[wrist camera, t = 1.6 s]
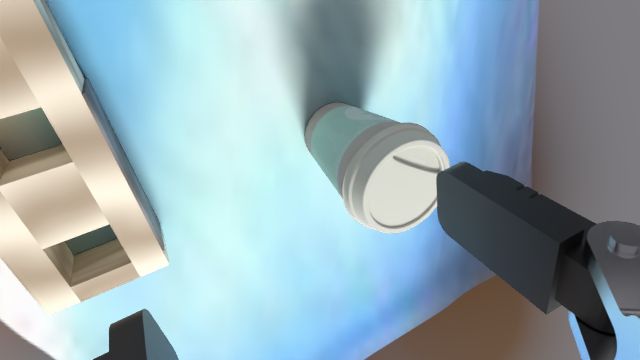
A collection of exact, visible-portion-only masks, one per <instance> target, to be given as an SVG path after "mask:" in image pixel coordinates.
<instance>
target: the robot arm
mask: <svg viewBox="0 0 640 360" xmlns="http://www.w3.org/2000/svg"><path fill="white" fill-rule="evenodd" d="M436 186H437V211H438V219H439V222H440V224H441V226H442V228H443V230H444V231H445V232H446V233H447V235H449V236H450V237H451V238H452V239H453V240H455V241H456V242H457V243H458V244H460V245H461V246H462V247H463V248H465V249H466V250H467V251H468V252H470V253H471V254H472V255H473V256H474V257H476V258H477V259H478V260H479V261H481V262H482V263H483V264H484V265H486V266H487V267H488V268H489V269H491V270H492V271H493V272H494V273H495V274H497V275H498V276H499V277H500V278H502V279H503V280H504V281H505V282H507V283H508V284H509V285H510V286H512V287H513V288H514V289H515V290H516V291H518V292H519V293H520V294H521V295H523V296H524V297H525V298H527V299H528V300H529V301H530V302H531V303H533V304H534V305H535V306H536V307H537V308H539V309H540V310H541V311H543V312H544V313H545V314H546V315H547V314H548V313H550V312H551V311H553V310H555V309H556V308H558V307H559V306H561V305H563V306H564V307H565V308H567V309H568V310H569V314H568V318H569V322H570V325H571V328H572V331H573V334H574V337H575V340H576V343H577V346H578V349H579V352H580V355H581V358H582V360H640V226H639V225H636V224H632V223H627V222H621V221H607V222H602V223H599V224H596V223H594V222H592V221H590V220H588V219H586V218H584V217H582V216H581V215H578V214H577V213H575V212H573V211H571V210H569V209H567V208H566V207H564V206H562V205H560V204H558V203H556V202H554V201H553V200H551V199H549V198H547V197H545V196H543V195H539V194H538V192H536V191H534V190H532V189H531V188H529V187H524V185H523V184H521V183H520V182H518V181H516V180H514V179H512V178H510V177H509V176H506V175H502V174H498V173H494V172H491V171H487V170H486V171H484V172H483V171H482V170H480V169H478V168H476V167H475V166H473V165H471V164H469V163H467V162H460V163H458V164H456V165H454V166H451V167H449V168H447V169H445V170H443V171H441V172H439V173H438V174H437V177H436ZM93 360H179V359H178V357H177V355H176V352H175V350H174V349H173V347H172V345H171V344H170V342H169V341H168V339H167V338H166V336H165V335H164V333H163V332H162V330H161V329H160V327H159V326H158V324H157V323H156V321H155V320H154V318H153V317H152V315H151V314H150V313H149V311H148V310H146V309H143V310H141V311H139V312H136V313H134V314H132V315H130V316H128V317H126V318H124V319H121V320H119V321H117V322H115V323H113V324H111V325H110V328H109V352H107V353H105V354H103V355H101V356H99V357H97V358H95V359H93Z"/></svg>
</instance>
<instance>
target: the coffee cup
mask: <svg viewBox="0 0 640 360" xmlns="http://www.w3.org/2000/svg"><path fill="white" fill-rule="evenodd" d="M305 142H306V146H307V148H308V150H309V152H310V153H311V154H312V156H313V157H314V159H315V160H316V162H317V163H318V165H319V166H320V167H321V169H322V170H323V172H324V173H325V174H326V176H327V177H328V179H329V180H330V181H331V183H332V184H333V186H334V187H335V188H336V190H337V191H338V193H339V194H340V196H341V197H342V198H343V201H344V205H345V207H346V210H347V211H348V213H349V214H350V216H351V217H352V218H353V219H354V220H356V221H357V222H359V223H361V224H362V225H364V226H365V227H368V228H371V229H375V230H378V231H380V232H384V233H398V232H403V231H406V230H408V229H410V228H412V227H414V226H416V225H418V224H419V223H421V222H422V221H423V220H424V219H426V218H427V217H428V216H429V215H430V214H431V213H432V212H433V210H434V209H435V208H436V207H437V186H436V177H437V174H438V173H439V172H441V171H443V170H445V169H447V168H449V167H450V165H449V160H448V157H447V154H446V153H445V151H444V149H443V148H442V147H441V145H440V143H439V141H438V140H437V139H436V137H435V136H434V135H433V134H431V133H430V132H429V131H428V130H427V129H426V128H424V127H422V126H420V125H418V124H414V123H400V122H397V121H394V120H391V119H388V118H385V117H383V116H380V115H377V114H374V113H371V112H368V111H365V110H363V109H360V108H357V107H354V106H351V105H348V104H345V103H340V102H335V103H330V104H327V105H325V106H323V107H321V108H320V109H318V110H317V111H316V112H315V113H314V114H313V116H312V117H311V118H310V120H309V122H308V124H307V127H306V131H305Z"/></svg>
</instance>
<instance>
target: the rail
mask: <svg viewBox="0 0 640 360" xmlns="http://www.w3.org/2000/svg"><path fill="white" fill-rule="evenodd" d="M37 108H42V109H43V111H44V113H45V115H46V116H47V118H48V120H49V121H50V123H51V125H52V127H53V128H54V130H55V132H56V133H57V135H58V137H59V139H60V140H61V142H62V145H59V146H56V147H53V148H50V149H46V150H43V151H40V152H37V153H34V154H31V155H27V156H24V157H21V158H18V159H15V160H11V161H9V160H8V158H7V157H6V155H5V154H4V152H3V151H2V149H1V148H0V258H1V259H2V260H3V261H4V263H5V264H6V265H7V266H8V268H9V269H10V270H11V271H12V272H13V274H14V275H15V276H16V277H17V279H18V280H19V281H20V282H21V283H22V285H23V286H24V287H25V288H26V289H27V291H28V292H29V293H30V294H31V296H32V297H33V298H34V299H35V300H36V302H37V303H38V304H39V305H40V306H41V308H42V309H43V310H44V311H45V313H46V314H47V315H48V316H49V315H51V314H54V313H56V312H58V311H61V310H63V309H65V308H68V307H70V306H73V305H75V304H77V303H80V302H82V301H85V300H87V299H89V298H92V297H94V296H96V295H99V294H101V293H104V292H106V291H108V290H111V289H113V288H115V287H118V286H120V285H123V284H125V283H127V282H130V281H132V280H135V279H137V278H139V277H142V276H144V275H146V274H149V273H151V272H154V271H156V270H158V269H161V268H163V267H165V266H168V265H169V260H168V255H167V250H166V245H165V240H164V237H163V235H162V233H161V228H160V223H159V221H158V219H157V217H156V215H155V213H154V211H153V209H152V207H151V205H150V203H149V201H148V199H147V197H146V195H145V193H144V191H143V189H142V187H141V185H140V183H139V181H138V179H137V177H136V175H135V173H134V171H133V169H132V167H131V165H130V163H129V161H128V158H127V156H126V154H125V152H124V150H123V148H122V146H121V144H120V142H119V140H118V138H117V136H116V134H115V132H114V130H113V128H112V126H111V124H110V122H109V120H108V118H107V116H106V114H105V112H104V110H103V108H102V106H101V104H100V102H99V100H98V98H97V96H96V94H95V92H94V90H93V88H92V86H91V84H90V82H89V80H88V78H85V79H84V77H83V75H82V73H81V71H80V69H79V67H78V65H77V63H76V61H75V59H74V57H73V55H72V53H71V51H70V49H69V47H68V45H67V43H66V41H65V39H64V37H63V35H62V33H61V31H60V29H59V27H58V25H57V23H56V21H55V19H54V17H53V15H52V13H51V11H50V9H49V7H48V5H47V3H46V1H45V0H0V119H2V118H6V117H9V116H13V115H16V114H20V113H23V112H27V111H30V110H34V109H37ZM109 224H110V226H111V228H112V229H113V231H114V233H115V234H116V236H117V238H118V239H115V240H113V241H110V242H108V243H105V244H103V245H100V246H97V247H95V248H92V249H90V250H87V251H85V252H82V253H79V254H77V255H73V253H72V252H71V250H70V249H69V248H68V246H67V245H66V243H65V242H64V241H66V240H69V239H71V238H74V237H77V236H79V235H82V234H85V233H87V232H90V231H93V230H95V229H98V228H101V227H103V226H106V225H109Z"/></svg>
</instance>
